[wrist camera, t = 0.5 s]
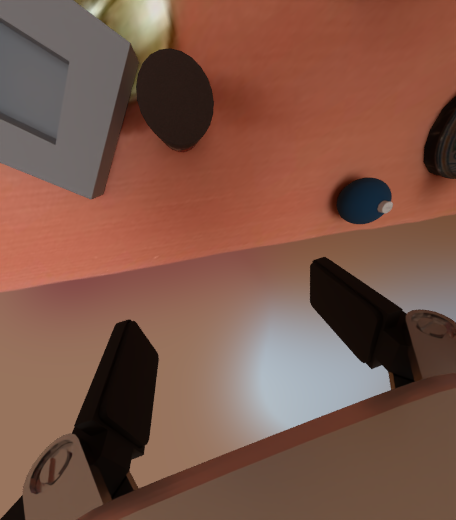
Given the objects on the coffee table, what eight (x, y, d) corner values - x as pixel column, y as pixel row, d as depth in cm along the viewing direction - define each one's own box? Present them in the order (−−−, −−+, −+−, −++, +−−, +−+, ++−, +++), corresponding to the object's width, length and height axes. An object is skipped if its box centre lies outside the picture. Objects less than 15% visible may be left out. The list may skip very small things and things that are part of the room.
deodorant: (162, 152, 29) (146, 145, 16) (154, 102, 26) (126, 45, 13) (201, 151, 30) (215, 144, 17) (197, 103, 27) (211, 51, 14)
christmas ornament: (323, 219, 40) (362, 235, 32) (332, 177, 36) (378, 183, 28) (357, 215, 42) (402, 229, 33) (368, 174, 38) (424, 178, 29)
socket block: (-71, -89, 17) (-148, -164, 13) (138, 62, 24) (130, 43, 20) (-64, 123, 23) (-115, 116, 19) (103, 194, 30) (91, 199, 26)
